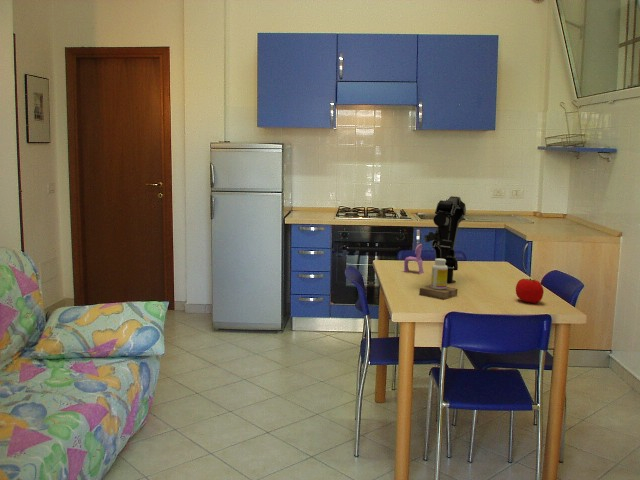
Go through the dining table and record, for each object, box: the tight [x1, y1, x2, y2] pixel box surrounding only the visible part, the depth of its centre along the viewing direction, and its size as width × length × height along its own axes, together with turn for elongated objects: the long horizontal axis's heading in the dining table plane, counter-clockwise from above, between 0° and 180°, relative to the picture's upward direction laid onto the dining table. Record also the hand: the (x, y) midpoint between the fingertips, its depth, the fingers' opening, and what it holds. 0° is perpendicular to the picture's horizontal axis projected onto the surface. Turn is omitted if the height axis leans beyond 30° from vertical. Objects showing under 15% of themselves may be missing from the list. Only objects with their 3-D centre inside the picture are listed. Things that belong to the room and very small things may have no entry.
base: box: [418, 284, 459, 301], centre depth 310 cm, size 12×12×3 cm
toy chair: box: [403, 243, 424, 275], centre depth 360 cm, size 8×9×15 cm
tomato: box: [515, 278, 544, 304], centre depth 306 cm, size 11×13×10 cm
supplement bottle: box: [430, 258, 448, 290], centre depth 309 cm, size 7×7×13 cm
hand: (439, 262), depth 323 cm, fingers open, 9 cm apart
